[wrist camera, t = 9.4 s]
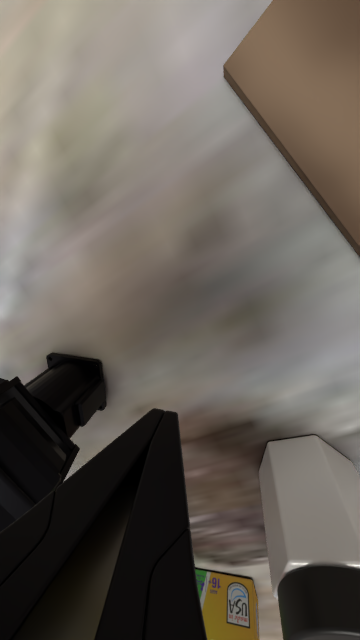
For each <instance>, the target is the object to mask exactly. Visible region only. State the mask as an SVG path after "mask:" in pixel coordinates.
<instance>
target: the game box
mask: <svg viewBox="0 0 360 640" xmlns="http://www.w3.org/2000/svg"><path fill="white" fill-rule="evenodd" d="M195 571H196V578H197V586H198V591H199V597H200V602H201V608H202V613H203V619H204V624H205V630H206V635H207V640H259V620H258V599H257V595H256V592H255V588H254V584H253V581H252V580H251V579H246V578H241V577H236V576H230V575H225V574H219V573H214V572H209V571H204V570H198V569H195Z"/></svg>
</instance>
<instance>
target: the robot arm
mask: <svg viewBox="0 0 360 640" xmlns="http://www.w3.org/2000/svg"><path fill="white" fill-rule="evenodd" d="M46 358H47V363H48V369H47V370H45V371H44V372H43V373H41V374H40V375H38V376H37V377H36V378H34V379H33V380H31V381H30V382H28V383H27V384H26V385H23V384H22V383H21V380H20V379H19V378H18V377H15V378H14V379H12V380H11V381H8V380H4V379H1V378H0V640H207V635H206V630H205V624H204V619H203V613H202V608H201V602H200V597H199V591H198V586H197V578H196V571H195V564H194V556H193V548H192V539H191V531H190V522H189V513H188V504H187V495H186V485H185V476H184V467H183V458H182V449H181V440H180V430H179V421H178V414H177V412H172V411H164V410H161V409H156V408H154V409H152V410H150V411H149V412H148V413H147V414H146V415H144V416H143V417H142V418H141V419H139V420H138V421H137V422H136V423H135V424H133V425H132V426H131V427H130V428H129V429H127V430H126V431H125V432H124V433H122V434H121V435H120V436H119V437H118V438H116V439H115V440H114V441H113V442H112V443H110V444H109V445H108V446H107V447H105V448H104V449H103V450H102V451H101V452H99V453H98V454H97V455H96V456H95V457H93V458H92V459H91V460H90V461H89V462H87V463H86V464H85V465H84V466H82V467H81V468H80V469H79V470H78V471H76V472H75V473H74V474H73V475H72V476H70V477H69V478H68V479H67V480H65V481H64V479H65V477H66V475H67V473H68V471H69V469H70V467H71V465H72V463H73V461H74V459H75V457H76V455H77V453H78V451H79V449H80V448H79V447H78V446H77V445H76V444H74V443H73V442H72V441H71V440H70V438H71V437H72V435H73V434H74V433H75V432H76V430H77V429H78V428H79V427H80V426H81V427H83V426H84V425H86V423H87V422H88V421H89V420H90V418H91V417H92V416H93V414H94V413H95V412H96V411H97V410H100V411H102V410H104V409H105V407H106V401H105V399H106V396H105V387H104V380H103V374H102V365H101V362H100V361H99V360H95V359H88V358H82V357H75V356H68V355H62V354H55V353H50V354H49V355H47V357H46ZM95 364H96V365H97V366H96V365H95ZM63 481H64V482H63Z"/></svg>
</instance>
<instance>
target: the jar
mask: <svg viewBox="0 0 360 640" xmlns="http://www.w3.org/2000/svg"><path fill="white" fill-rule="evenodd" d="M259 480H260V489H261V497H262V506H263V515H264V523H265V532H266V541H267V549H268V558H269V566H270V575H271V584H272V592H273V595H274V597H275V598H276V599H278V601H279V609H280V617H281V625H282V632H283V640H360V476H359V474H358V472H357V470H356V469H355V467H354V465H353V463H352V462H351V461H350V460H349V459H347V458H346V457H344V456H343V455H342V454H340V453H339V452H338V451H336V450H335V449H334V448H332V447H331V446H330V445H328V444H327V443H326V442H324V441H323V440H322V439H320V438H319V437H318V436H316V435H311V436H304V437H297V438H291V439H284V440H277V441H271V442H268V443H267V446H266V450H265V453H264V456H263V459H262V463H261V466H260V469H259Z"/></svg>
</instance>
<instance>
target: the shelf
mask: <svg viewBox="0 0 360 640" xmlns="http://www.w3.org/2000/svg"><path fill="white" fill-rule="evenodd" d="M223 67H224V78H225V79H226V80H227V81H228V83H229V84H230V85H231V87H232V88H233V89H234V91H235V92H236V93H237V95H238V96H239V97H240V99H241V100H242V101H243V103H244V104H245V105H246V107H247V108H248V109H249V111H250V112H251V113H252V115H253V116H254V117H255V119H256V120H257V121H258V123H259V124H260V125H261V126H262V128H263V129H264V130H265V132H266V133H267V134H268V136H269V137H270V138H271V140H272V141H273V142H274V144H275V145H276V146H277V148H278V149H279V150H280V152H281V153H282V154H283V156H284V157H285V158H286V160H287V161H288V162H289V164H290V165H291V166H292V168H293V169H294V170H295V171H296V173H297V174H298V175H299V177H300V178H301V179H302V181H303V182H304V183H305V185H306V186H307V187H308V189H309V190H310V191H311V193H312V194H313V195H314V197H315V198H316V199H317V201H318V202H319V203H320V205H321V206H322V207H323V209H324V210H325V211H326V213H327V214H328V215H329V216H330V218H331V219H332V220H333V222H334V223H335V224H336V226H337V227H338V228H339V230H340V231H341V232H342V234H343V235H344V236H345V238H346V239H347V240H348V242H349V243H350V244H351V246H352V247H353V248H354V250H355V251H356V252H357V254H358V255H359V256H360V0H273V1H272V2H271V4H270V5H269V6H268V8H267V9H266V10H265V12H264V13H263V14H262V15H261V17H260V18H259V19H258V21H257V22H256V23H255V25H254V26H253V27H252V29H251V30H250V31H249V33H248V34H247V35H246V36H245V38H244V39H243V40H242V42H241V43H240V44H239V46H238V47H237V48H236V50H235V51H234V52H233V54H232V55H231V56H230V57H229V59H228V60H227V61H226V63H225V64H224V65H223Z"/></svg>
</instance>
